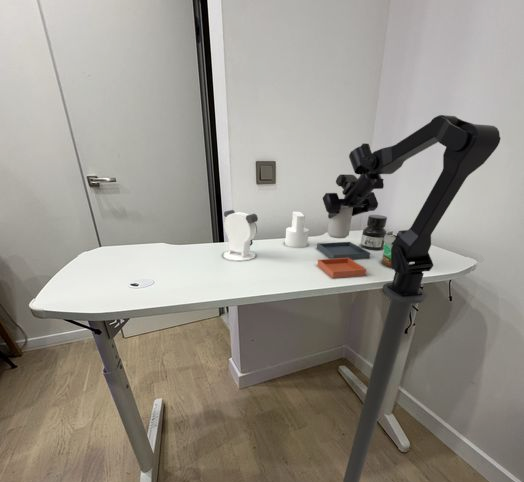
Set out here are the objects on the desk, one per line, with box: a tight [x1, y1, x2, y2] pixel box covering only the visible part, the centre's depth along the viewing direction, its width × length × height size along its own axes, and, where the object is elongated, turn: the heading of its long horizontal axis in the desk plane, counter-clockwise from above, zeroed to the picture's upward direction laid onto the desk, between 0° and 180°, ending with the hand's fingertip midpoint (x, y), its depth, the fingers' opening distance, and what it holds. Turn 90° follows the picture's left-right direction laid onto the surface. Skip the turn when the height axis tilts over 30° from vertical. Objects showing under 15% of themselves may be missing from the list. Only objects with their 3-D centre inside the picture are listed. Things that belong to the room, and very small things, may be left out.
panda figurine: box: [223, 209, 259, 262], centre depth 100 cm, size 12×11×15 cm
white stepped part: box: [284, 211, 310, 248], centre depth 115 cm, size 9×9×12 cm
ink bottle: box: [360, 214, 388, 251], centre depth 114 cm, size 10×9×12 cm
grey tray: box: [316, 241, 371, 260], centre depth 109 cm, size 14×14×2 cm
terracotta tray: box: [316, 258, 368, 279], centre depth 93 cm, size 11×11×2 cm
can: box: [327, 206, 353, 239], centre depth 102 cm, size 8×8×12 cm
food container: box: [381, 231, 410, 269], centre depth 96 cm, size 12×6×10 cm, turn 17°
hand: (338, 216), depth 103 cm, fingers closed on can, 7 cm apart
